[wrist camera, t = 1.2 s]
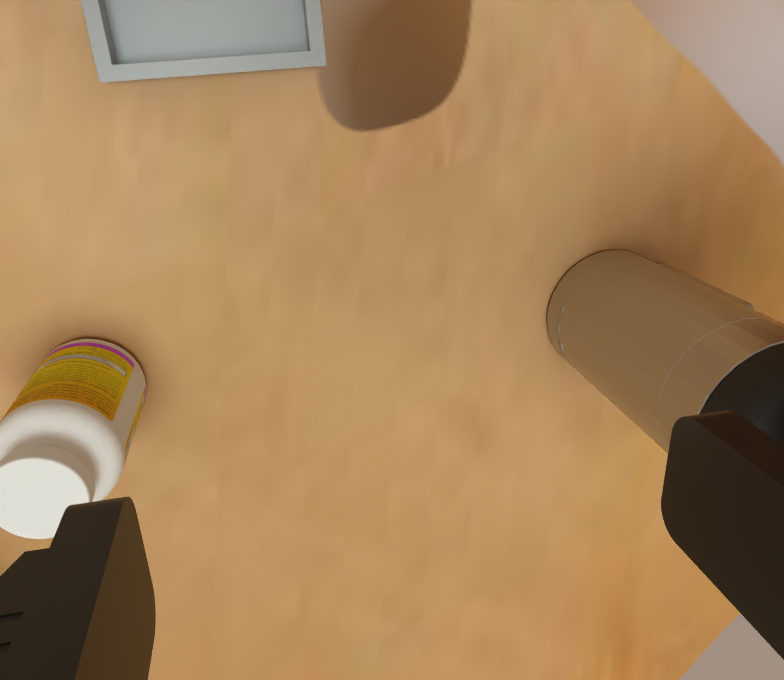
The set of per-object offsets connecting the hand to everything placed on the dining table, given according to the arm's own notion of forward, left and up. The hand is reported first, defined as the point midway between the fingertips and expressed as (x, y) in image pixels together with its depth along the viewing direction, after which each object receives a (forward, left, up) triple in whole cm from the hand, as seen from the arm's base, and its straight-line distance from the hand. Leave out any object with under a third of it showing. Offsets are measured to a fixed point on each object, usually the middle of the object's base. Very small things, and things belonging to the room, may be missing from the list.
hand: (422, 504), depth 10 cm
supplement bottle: (+14, +12, -34) cm, 39 cm away
